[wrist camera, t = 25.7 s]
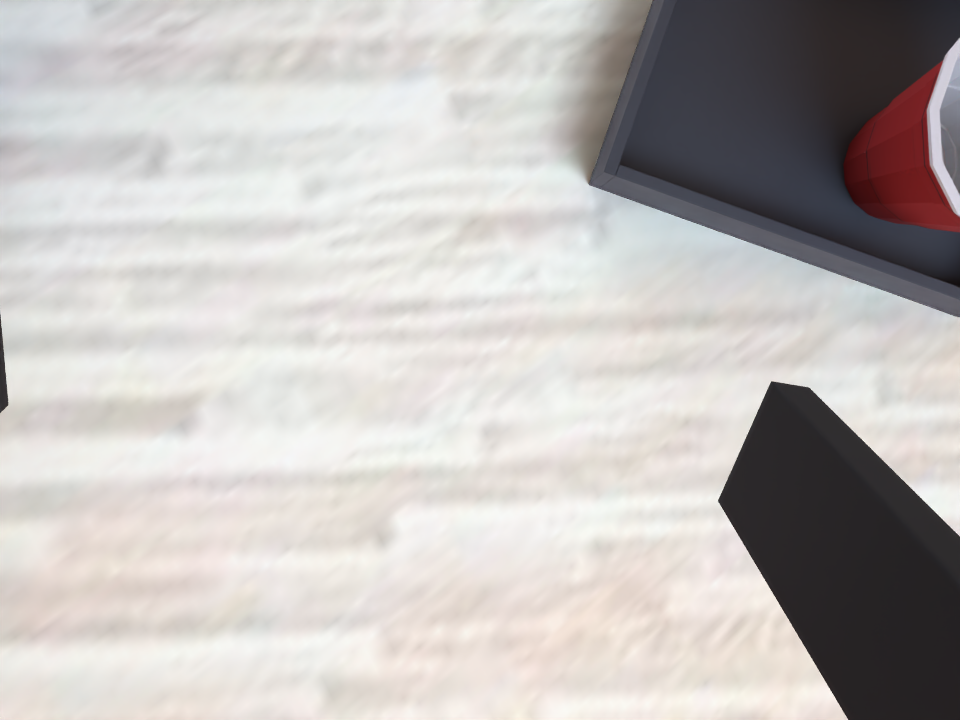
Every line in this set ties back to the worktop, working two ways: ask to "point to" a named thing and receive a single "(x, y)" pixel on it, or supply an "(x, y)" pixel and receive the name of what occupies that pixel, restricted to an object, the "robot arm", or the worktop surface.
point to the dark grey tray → (780, 128)
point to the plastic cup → (912, 153)
